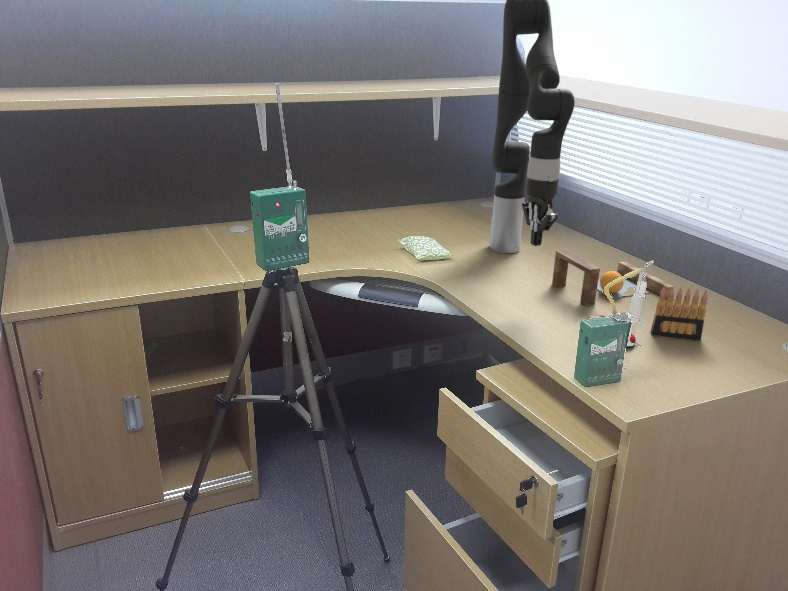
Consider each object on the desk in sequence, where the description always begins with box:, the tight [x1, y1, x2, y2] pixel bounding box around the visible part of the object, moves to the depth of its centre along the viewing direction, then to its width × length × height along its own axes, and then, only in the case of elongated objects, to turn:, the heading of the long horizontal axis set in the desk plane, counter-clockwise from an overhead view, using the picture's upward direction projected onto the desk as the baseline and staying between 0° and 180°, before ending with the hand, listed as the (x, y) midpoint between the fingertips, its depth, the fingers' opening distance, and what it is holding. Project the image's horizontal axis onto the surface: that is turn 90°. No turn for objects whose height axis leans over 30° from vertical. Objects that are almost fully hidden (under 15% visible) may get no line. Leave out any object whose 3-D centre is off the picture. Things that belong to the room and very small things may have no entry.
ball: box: [599, 270, 624, 294], centre depth 175 cm, size 6×6×6 cm
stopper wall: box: [616, 261, 675, 299], centre depth 182 cm, size 20×2×3 cm, turn 21°
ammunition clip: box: [650, 286, 708, 341], centre depth 150 cm, size 11×2×12 cm, turn 77°
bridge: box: [551, 249, 601, 306], centre depth 173 cm, size 3×15×10 cm, turn 20°
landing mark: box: [597, 279, 650, 300], centre depth 179 cm, size 12×12×1 cm
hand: (535, 244), depth 164 cm, fingers closed
